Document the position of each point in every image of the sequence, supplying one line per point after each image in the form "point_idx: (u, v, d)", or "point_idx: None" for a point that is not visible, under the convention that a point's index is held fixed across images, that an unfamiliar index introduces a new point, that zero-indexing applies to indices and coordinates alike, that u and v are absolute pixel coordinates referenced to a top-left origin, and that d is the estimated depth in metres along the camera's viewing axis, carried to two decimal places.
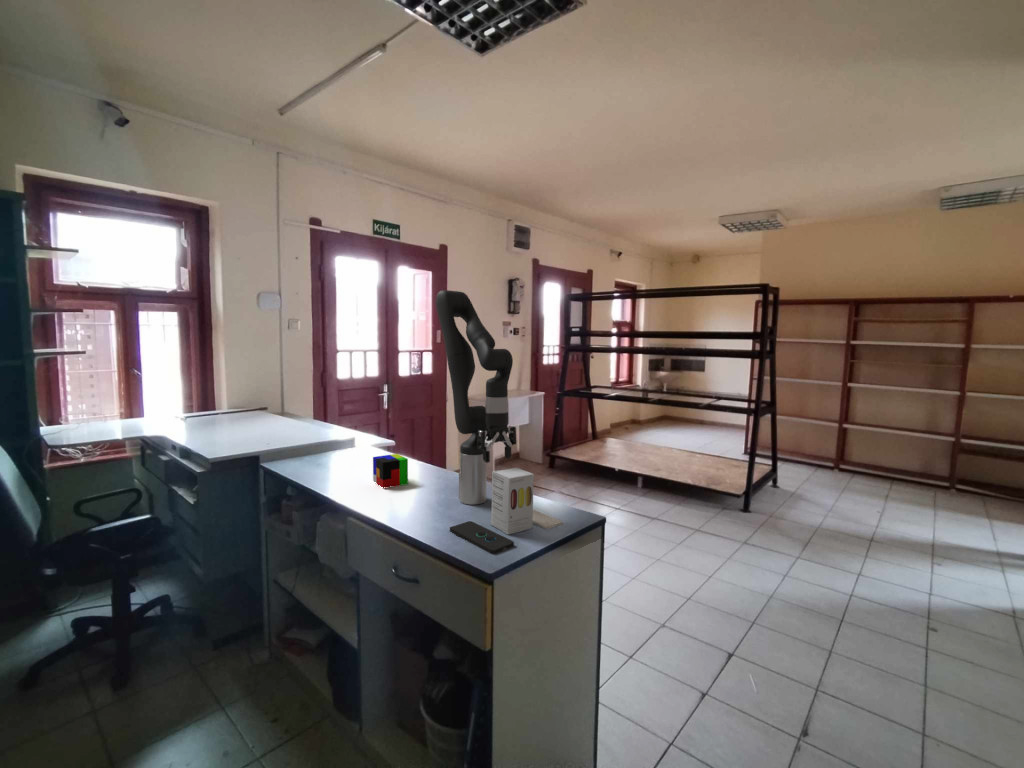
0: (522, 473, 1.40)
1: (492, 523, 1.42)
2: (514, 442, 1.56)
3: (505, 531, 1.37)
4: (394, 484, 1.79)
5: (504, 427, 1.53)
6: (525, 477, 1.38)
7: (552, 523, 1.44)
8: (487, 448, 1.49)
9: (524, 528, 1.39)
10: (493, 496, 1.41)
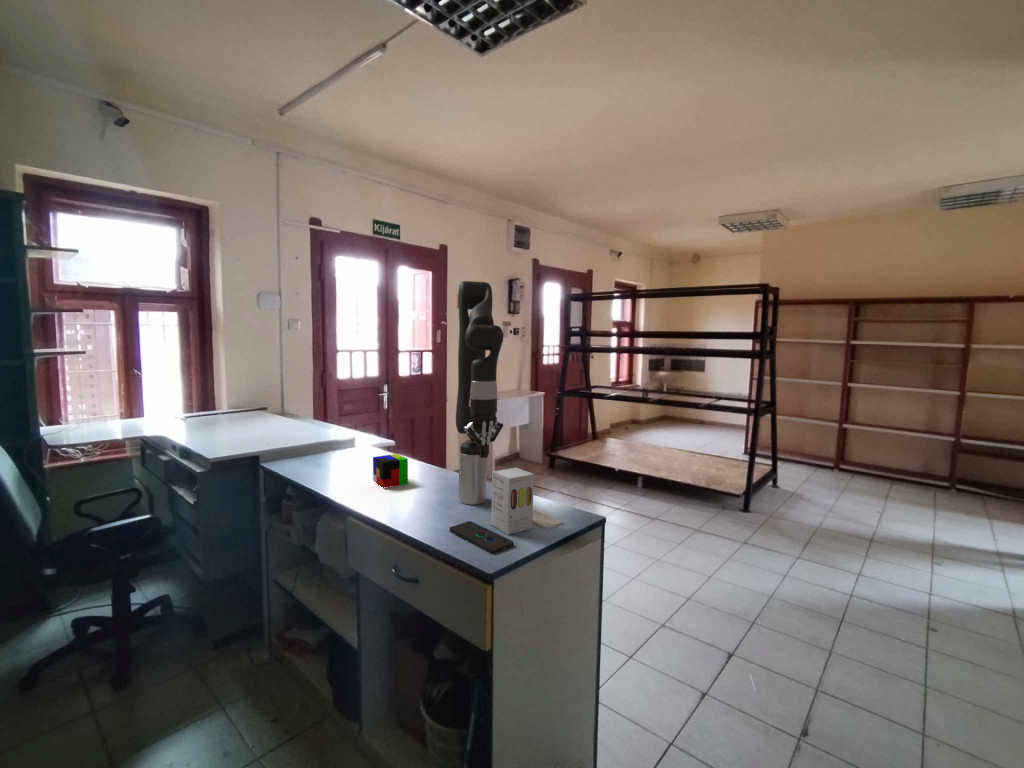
0: (522, 473, 1.40)
1: (492, 523, 1.42)
2: (492, 439, 1.33)
3: (505, 531, 1.37)
4: (394, 484, 1.79)
5: (492, 416, 1.33)
6: (525, 477, 1.38)
7: (552, 523, 1.44)
8: (483, 442, 1.31)
9: (524, 528, 1.39)
10: (493, 496, 1.41)
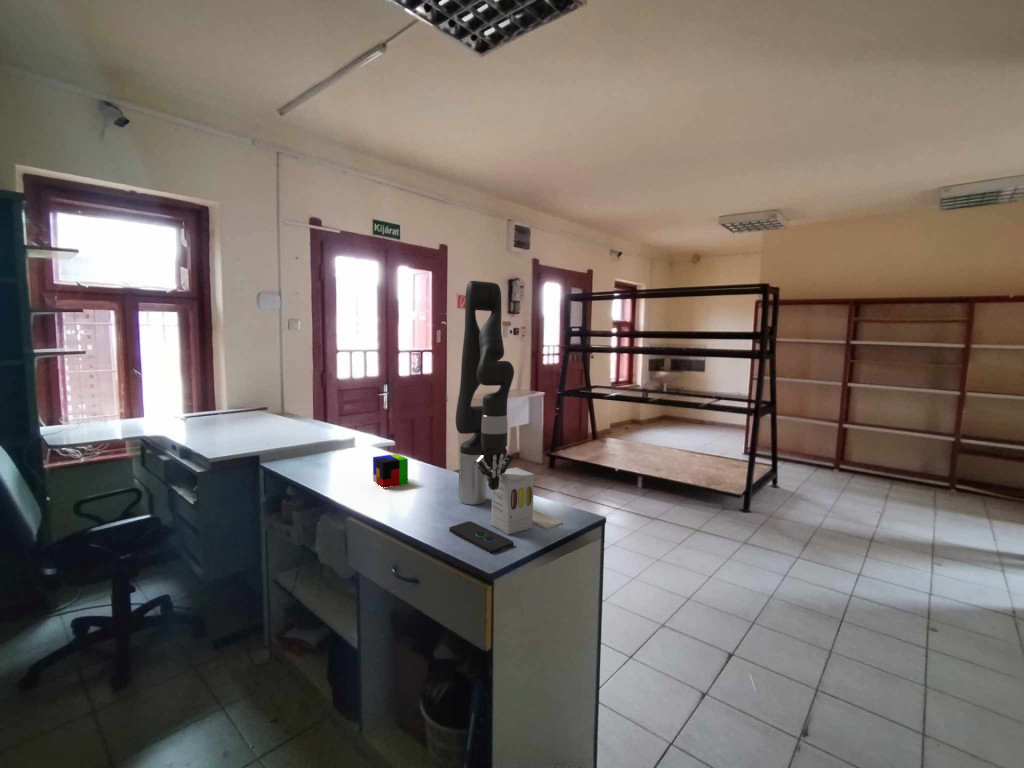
0: (522, 473, 1.40)
1: (492, 523, 1.42)
2: (503, 471, 1.37)
3: (505, 531, 1.37)
4: (394, 484, 1.79)
5: (502, 449, 1.36)
6: (525, 477, 1.38)
7: (552, 523, 1.44)
8: (493, 474, 1.35)
9: (524, 528, 1.39)
10: (493, 496, 1.41)
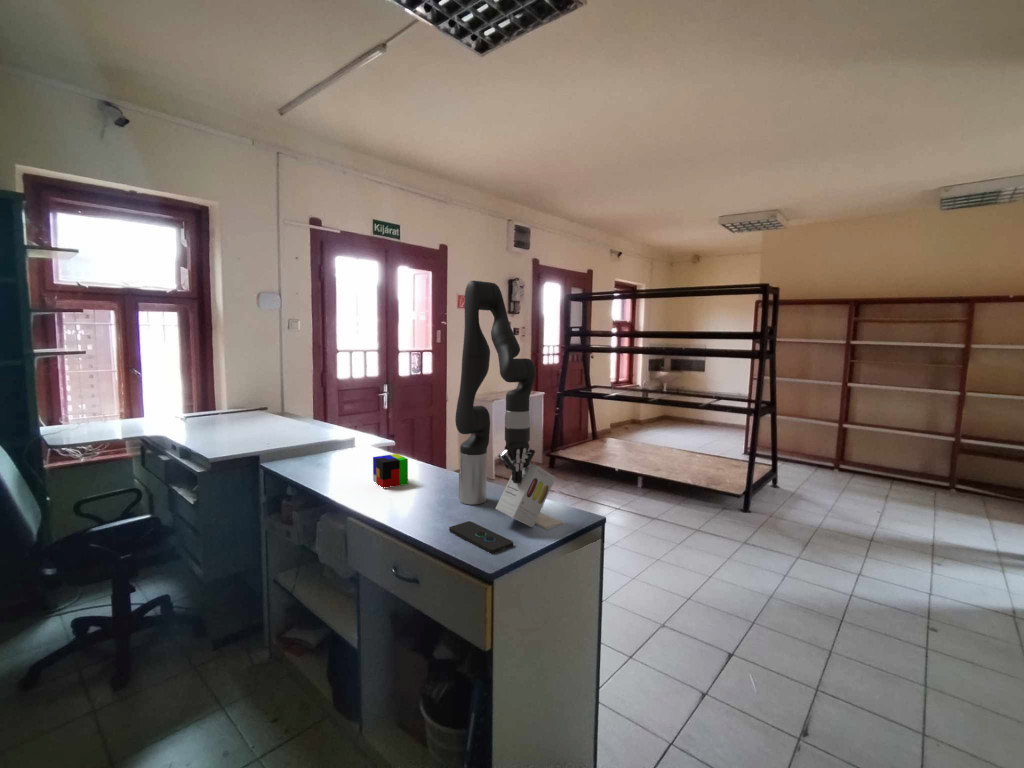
0: None
1: (497, 507, 1.43)
2: (525, 465, 1.42)
3: (511, 514, 1.37)
4: (394, 484, 1.79)
5: (525, 443, 1.41)
6: (548, 474, 1.43)
7: (552, 523, 1.44)
8: (517, 468, 1.39)
9: (527, 522, 1.40)
10: (510, 482, 1.44)
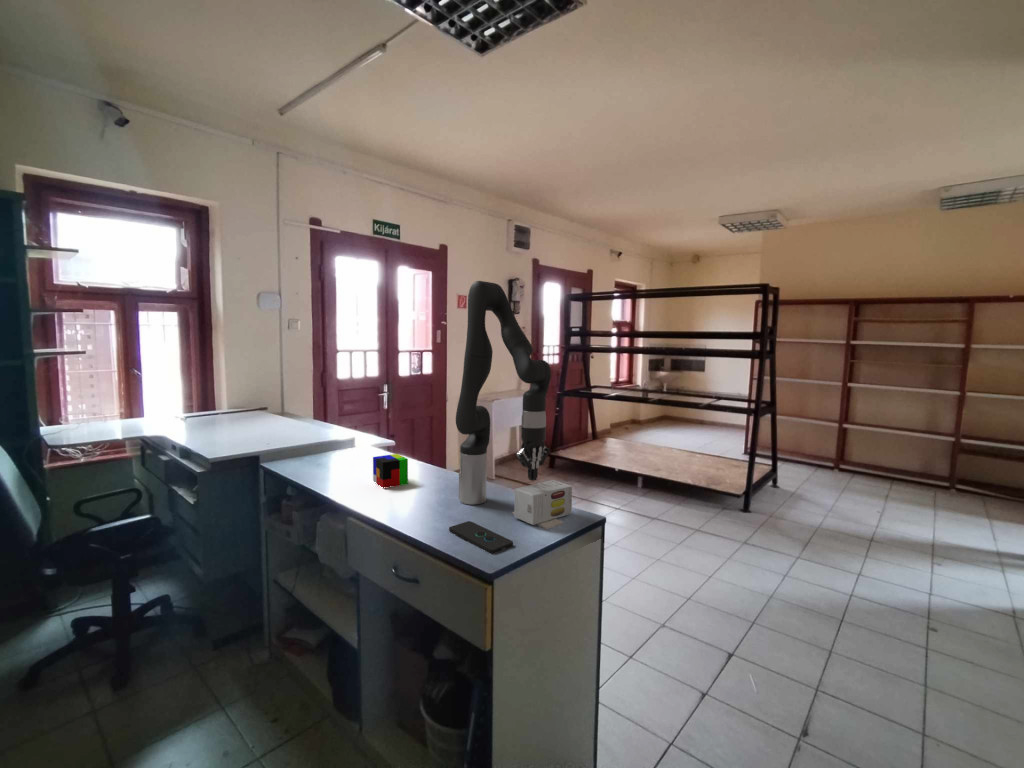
0: None
1: (518, 488, 1.47)
2: (541, 463, 1.46)
3: (532, 494, 1.42)
4: (394, 484, 1.79)
5: (540, 442, 1.46)
6: (571, 504, 1.51)
7: (552, 523, 1.44)
8: (533, 466, 1.44)
9: (534, 514, 1.41)
10: (538, 484, 1.52)
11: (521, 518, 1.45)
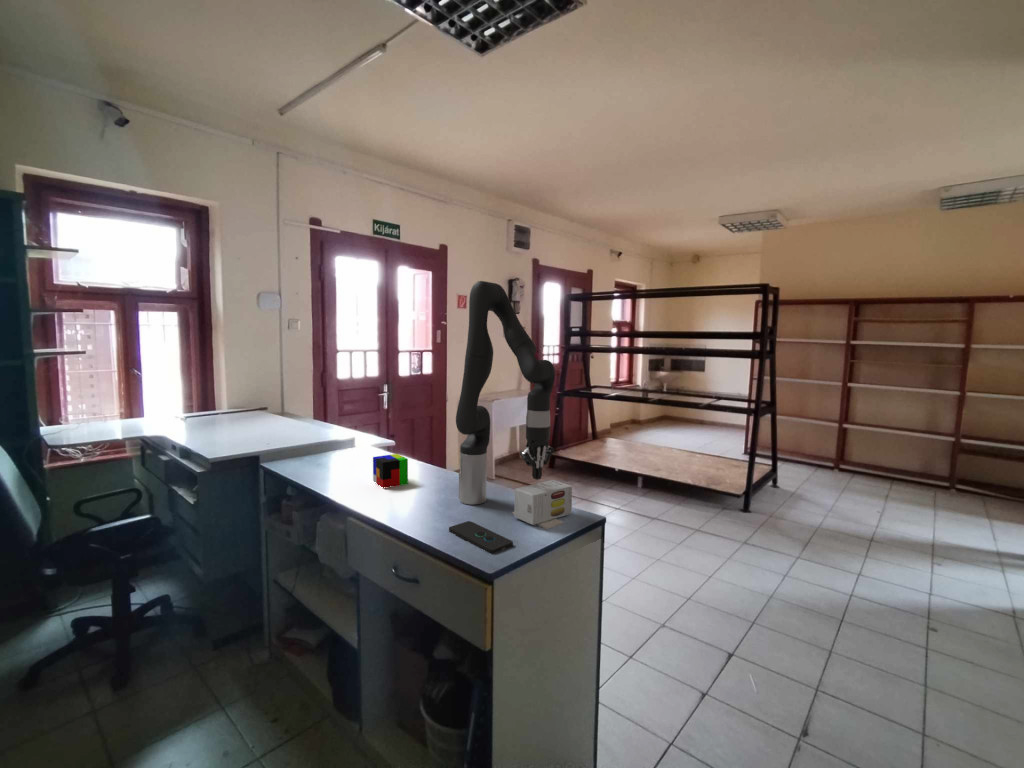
0: None
1: (518, 488, 1.47)
2: (545, 462, 1.48)
3: (532, 494, 1.42)
4: (394, 484, 1.79)
5: (545, 441, 1.47)
6: (571, 504, 1.51)
7: (552, 523, 1.44)
8: (537, 465, 1.45)
9: (534, 514, 1.41)
10: (538, 484, 1.52)
11: (521, 518, 1.45)
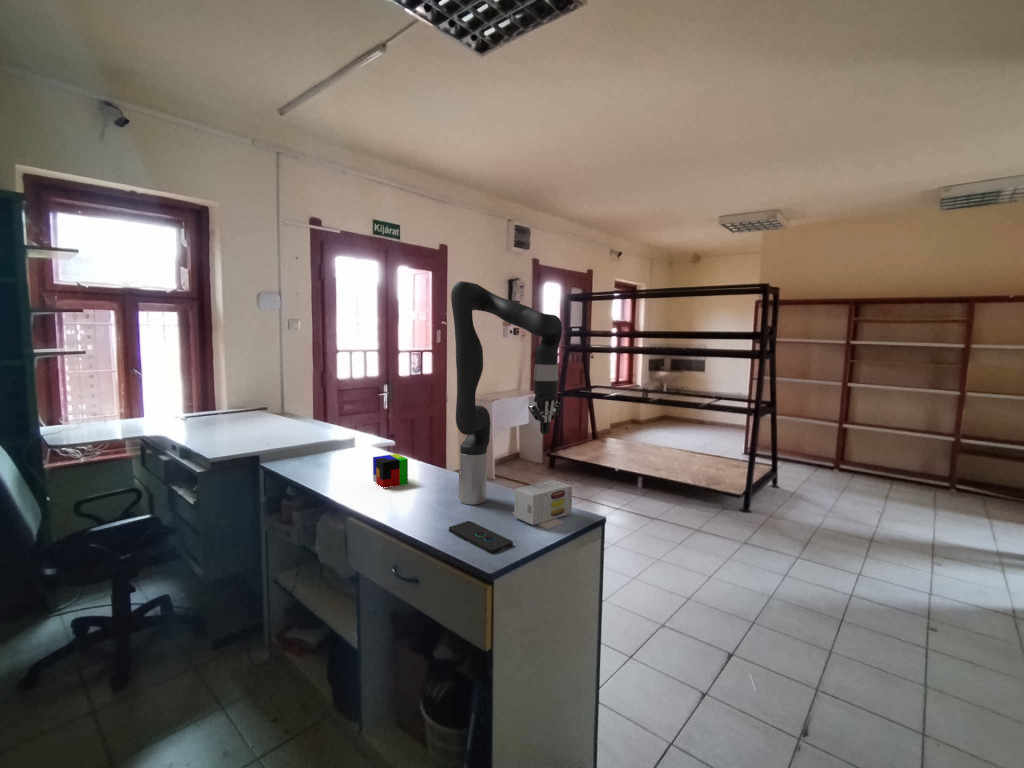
0: None
1: (518, 488, 1.47)
2: (553, 417, 1.48)
3: (532, 494, 1.42)
4: (394, 484, 1.79)
5: (553, 396, 1.47)
6: (571, 504, 1.51)
7: (552, 523, 1.44)
8: (545, 419, 1.46)
9: (534, 514, 1.41)
10: (538, 484, 1.52)
11: (521, 518, 1.45)
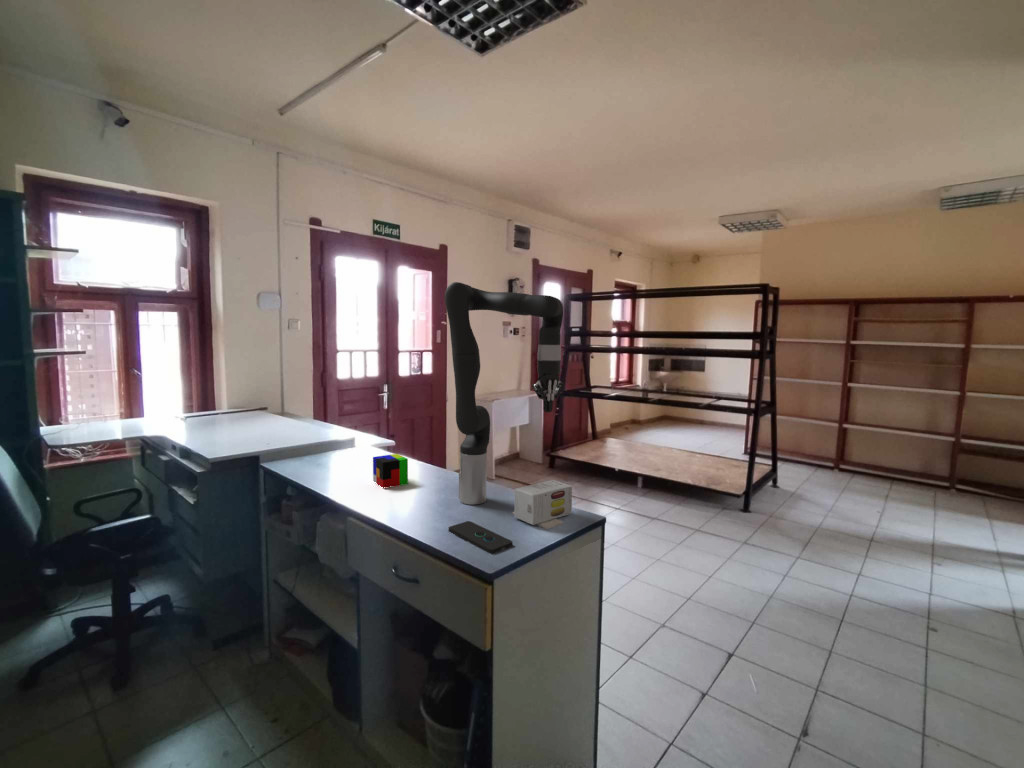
0: None
1: (518, 488, 1.47)
2: (556, 396, 1.54)
3: (532, 494, 1.42)
4: (394, 484, 1.79)
5: (555, 376, 1.53)
6: (571, 504, 1.51)
7: (552, 523, 1.44)
8: (548, 398, 1.52)
9: (534, 514, 1.41)
10: (538, 484, 1.52)
11: (521, 518, 1.45)
